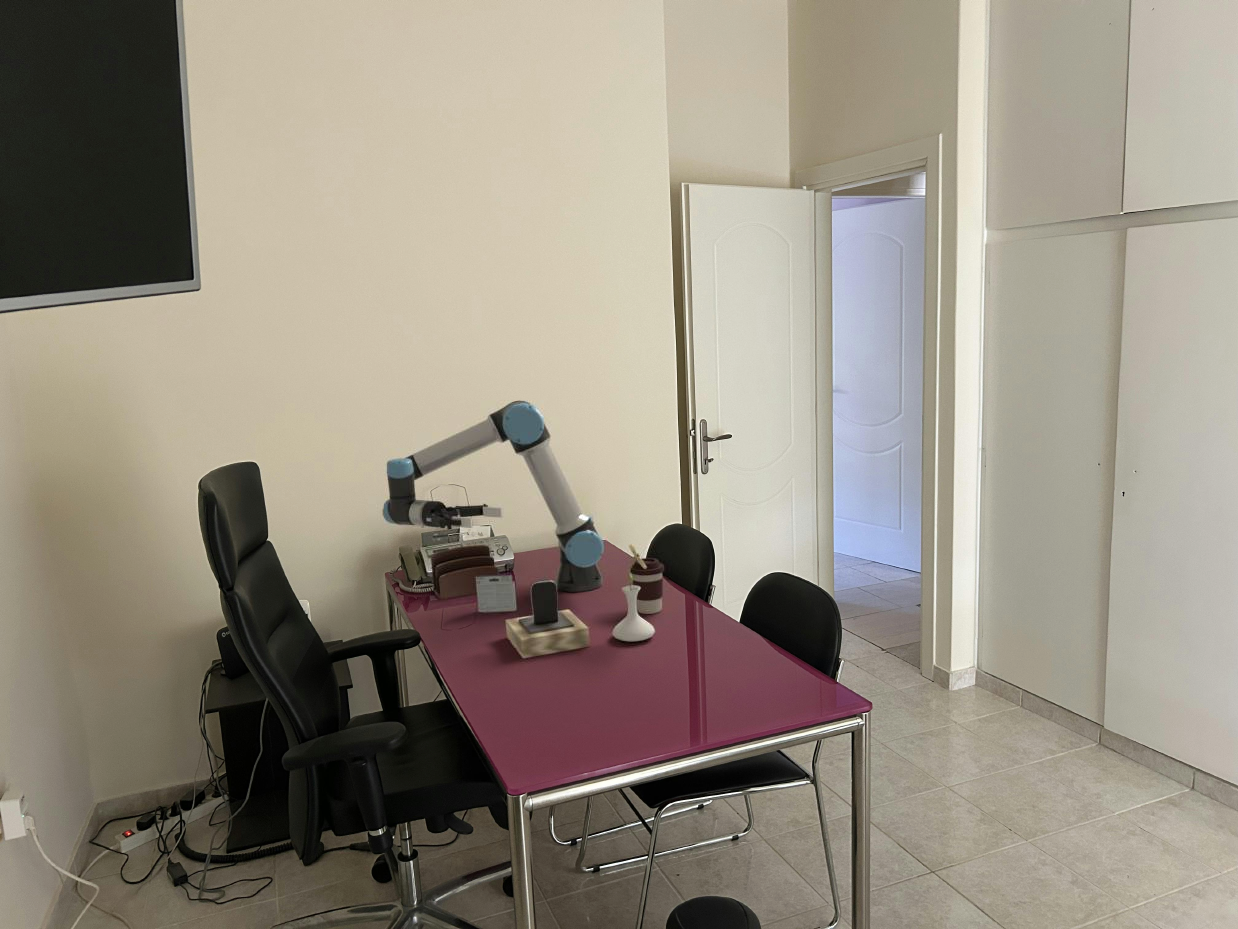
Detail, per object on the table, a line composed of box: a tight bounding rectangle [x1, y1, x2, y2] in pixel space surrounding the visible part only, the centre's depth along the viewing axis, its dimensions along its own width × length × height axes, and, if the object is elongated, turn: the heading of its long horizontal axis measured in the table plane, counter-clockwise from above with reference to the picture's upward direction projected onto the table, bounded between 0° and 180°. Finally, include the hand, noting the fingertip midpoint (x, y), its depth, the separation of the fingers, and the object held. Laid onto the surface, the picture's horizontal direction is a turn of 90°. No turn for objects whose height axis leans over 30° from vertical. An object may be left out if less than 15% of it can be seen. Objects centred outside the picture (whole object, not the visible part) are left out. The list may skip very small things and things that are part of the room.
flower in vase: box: [612, 543, 656, 642], centre depth 242 cm, size 13×11×25 cm
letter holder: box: [430, 544, 500, 601], centre depth 296 cm, size 10×20×14 cm, turn 114°
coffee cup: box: [630, 557, 665, 615], centre depth 265 cm, size 10×10×15 cm
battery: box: [529, 578, 559, 624], centre depth 243 cm, size 7×4×11 cm, turn 103°
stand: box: [505, 609, 591, 659], centre depth 244 cm, size 18×18×6 cm
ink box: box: [476, 573, 518, 613], centre depth 273 cm, size 12×2×12 cm, turn 84°
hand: (487, 517), depth 253 cm, fingers open, 13 cm apart
